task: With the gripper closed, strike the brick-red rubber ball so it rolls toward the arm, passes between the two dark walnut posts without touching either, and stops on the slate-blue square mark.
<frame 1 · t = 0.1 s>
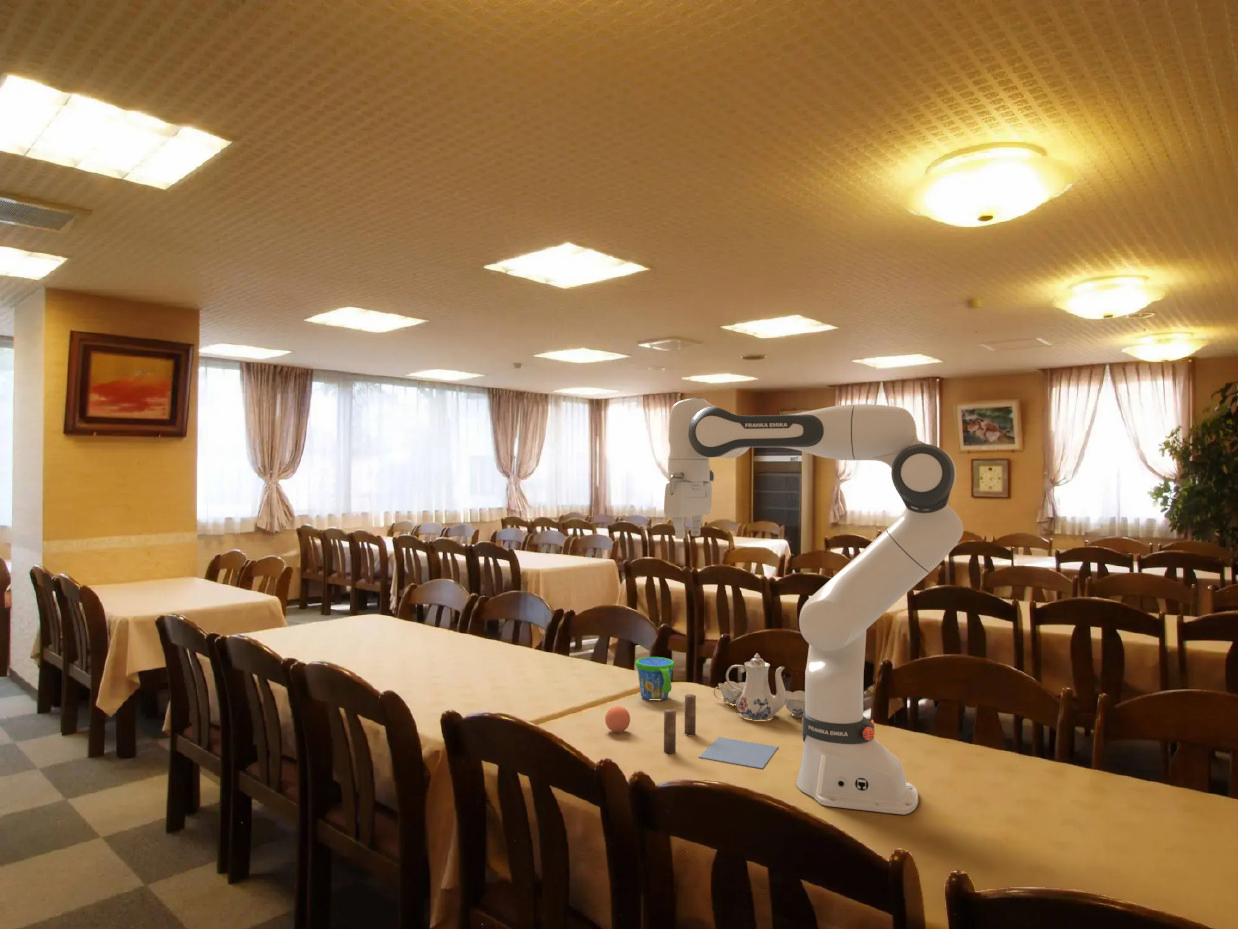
hand: (688, 537, 159), 48 cm above the table, tool pointing down, fingers open, 8 cm apart
ball: (617, 719, 176), on the table
post 2: (690, 734, 175), on the table
chinaware: (760, 714, 191), on the table
snack cup: (654, 698, 204), on the table
post 1: (669, 751, 163), on the table
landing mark: (739, 752, 163), on the table
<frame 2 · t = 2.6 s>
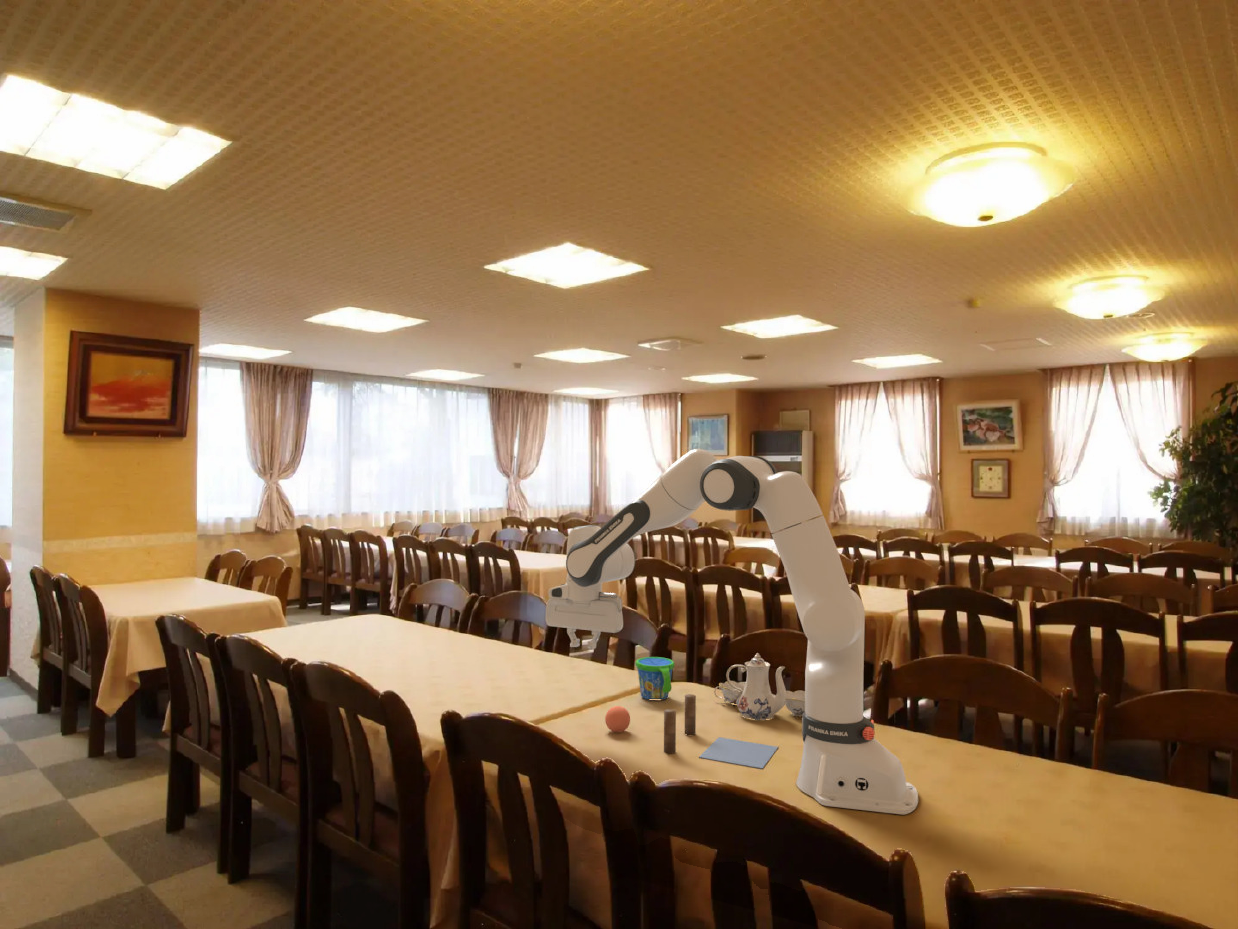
hand: (583, 647, 180), 19 cm above the table, tool pointing down, fingers open, 3 cm apart
nothing on the table moved.
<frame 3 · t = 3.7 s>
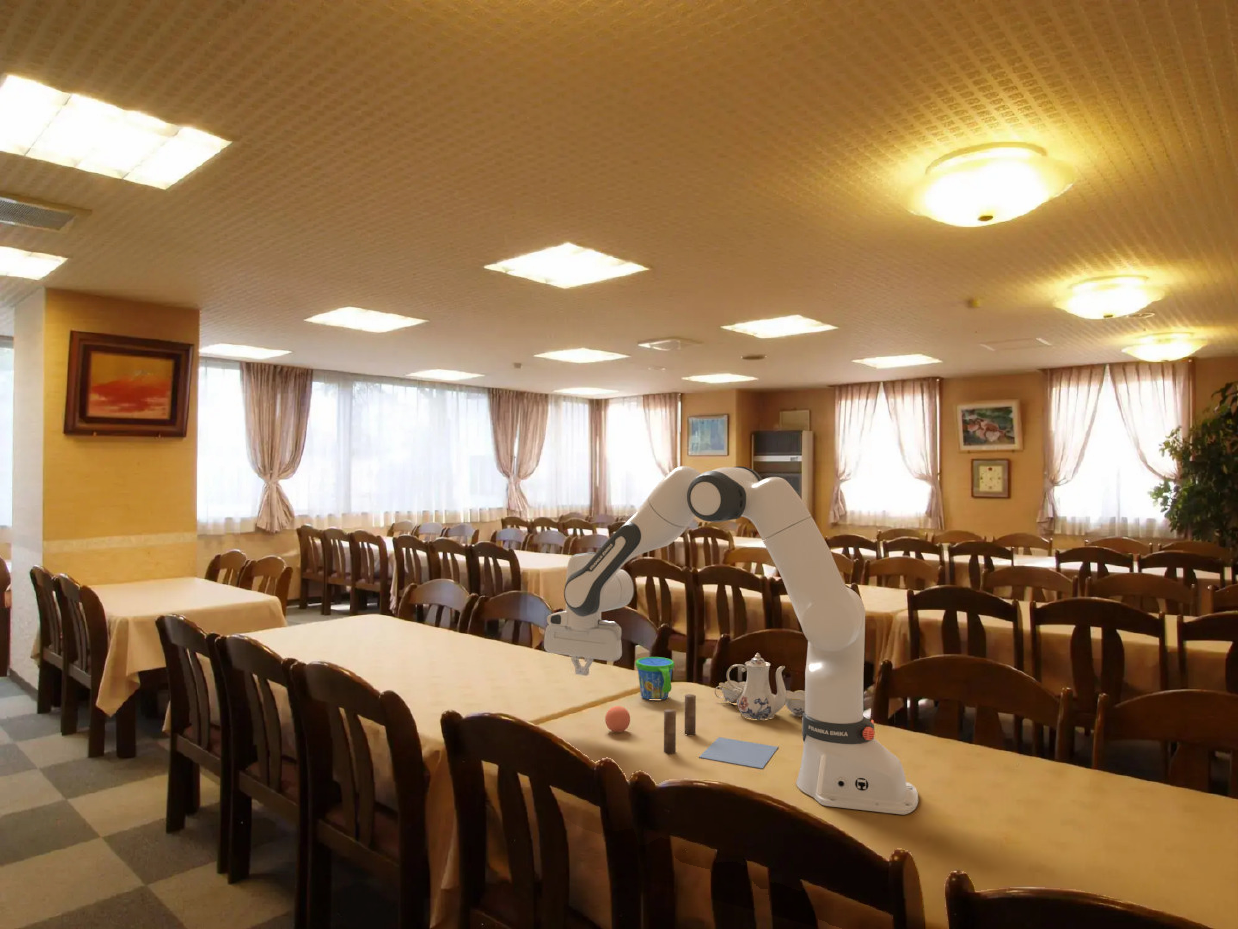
hand: (582, 674, 180), 12 cm above the table, tool pointing down, fingers closed
nothing on the table moved.
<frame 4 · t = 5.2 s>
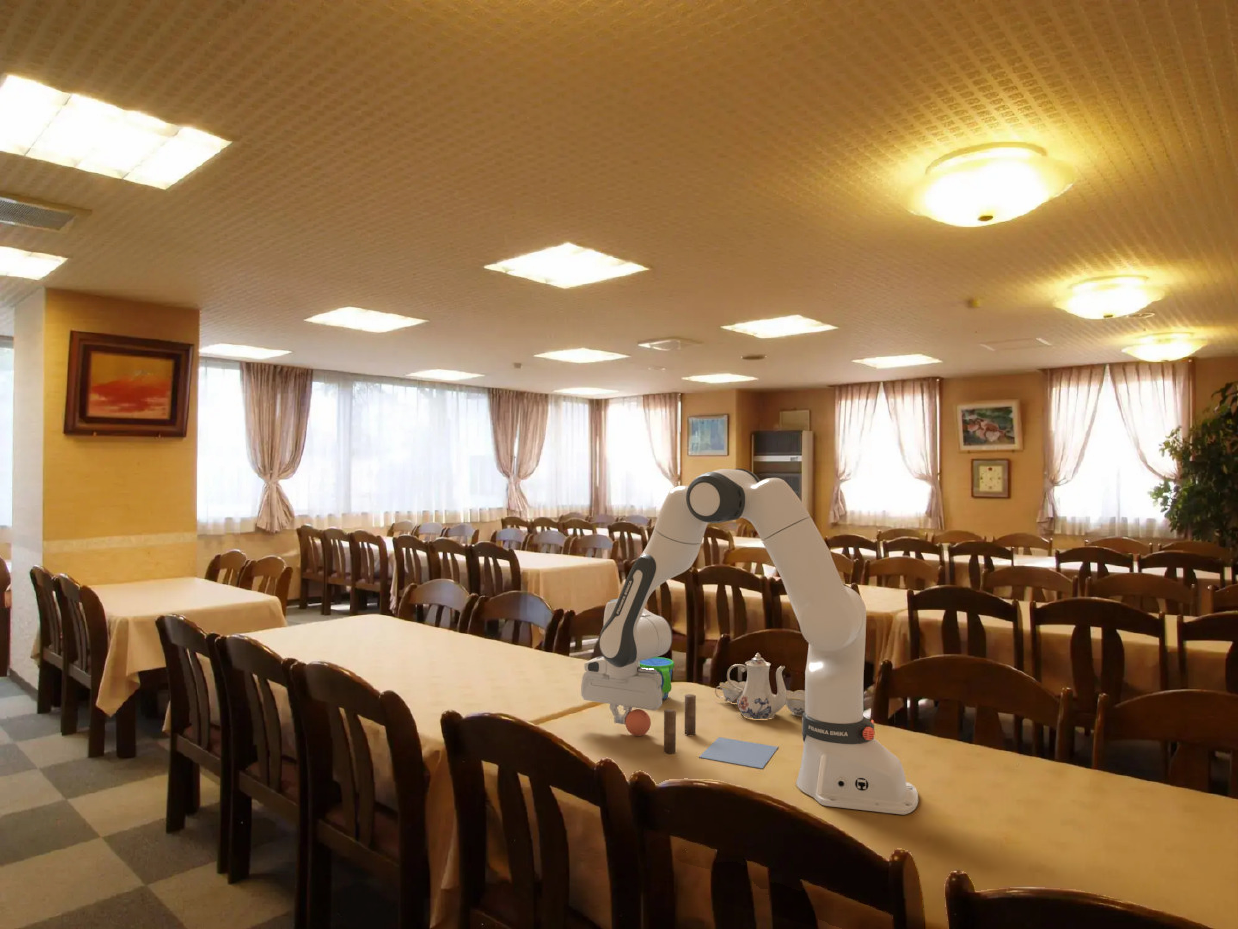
hand: (621, 723, 175), 2 cm above the table, tool pointing down, fingers closed
ball: (638, 722, 173), on the table, touching gripper
everything else where it was.
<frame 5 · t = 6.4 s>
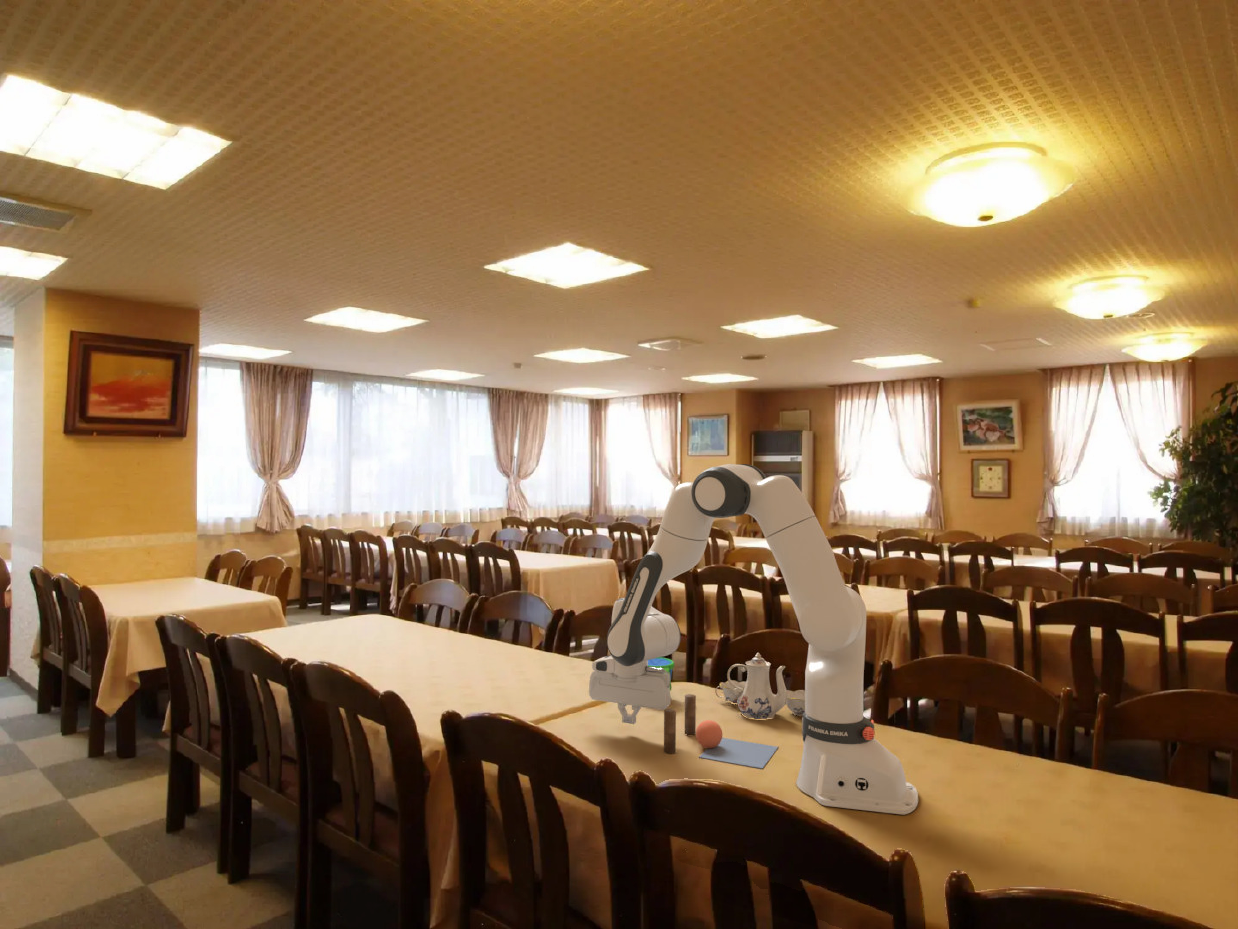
hand: (629, 722, 174), 3 cm above the table, tool pointing down, fingers closed
ball: (709, 734, 166), on the table
everything else where it was.
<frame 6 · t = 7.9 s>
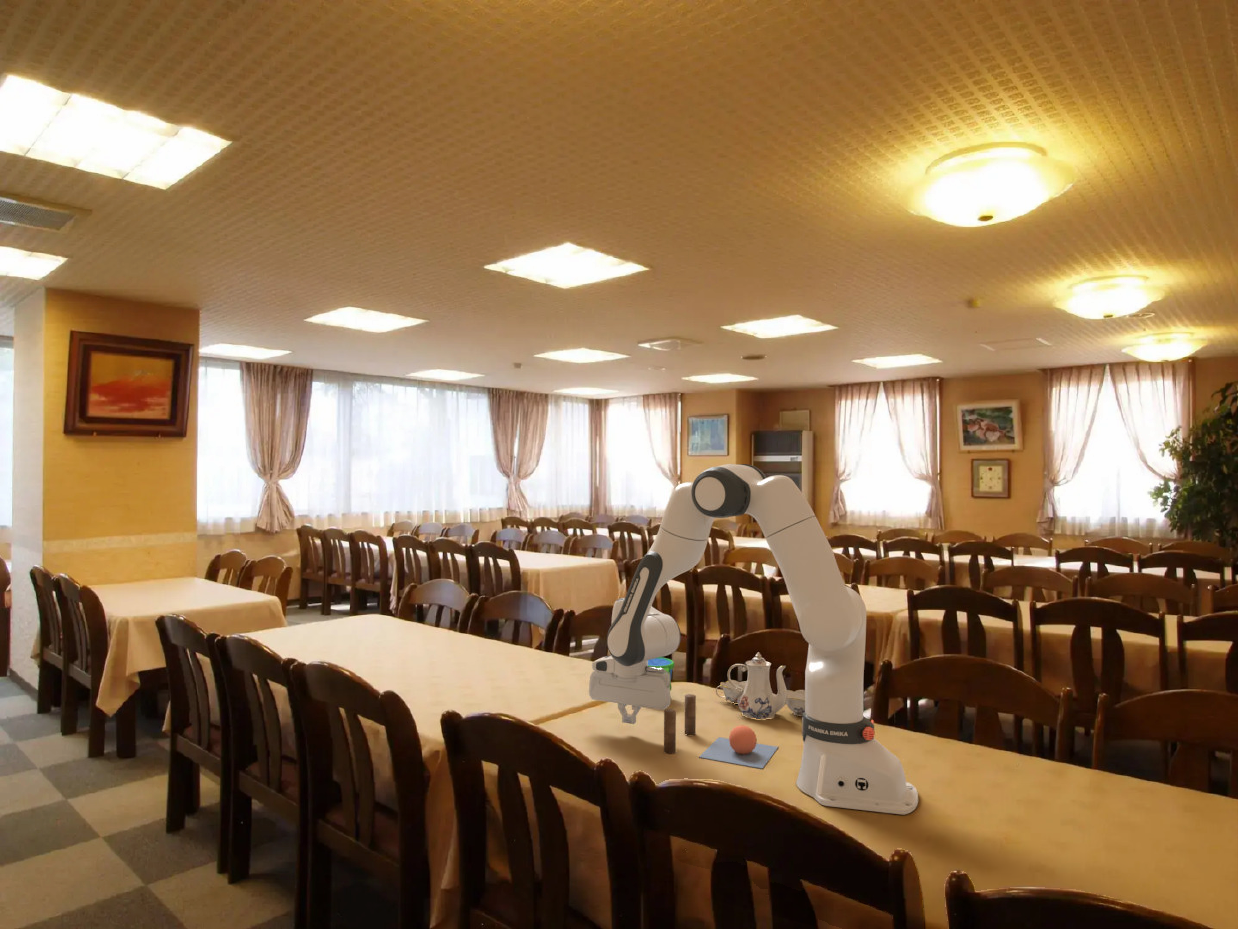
hand: (629, 722, 174), 3 cm above the table, tool pointing down, fingers closed
ball: (742, 739, 162), on the table
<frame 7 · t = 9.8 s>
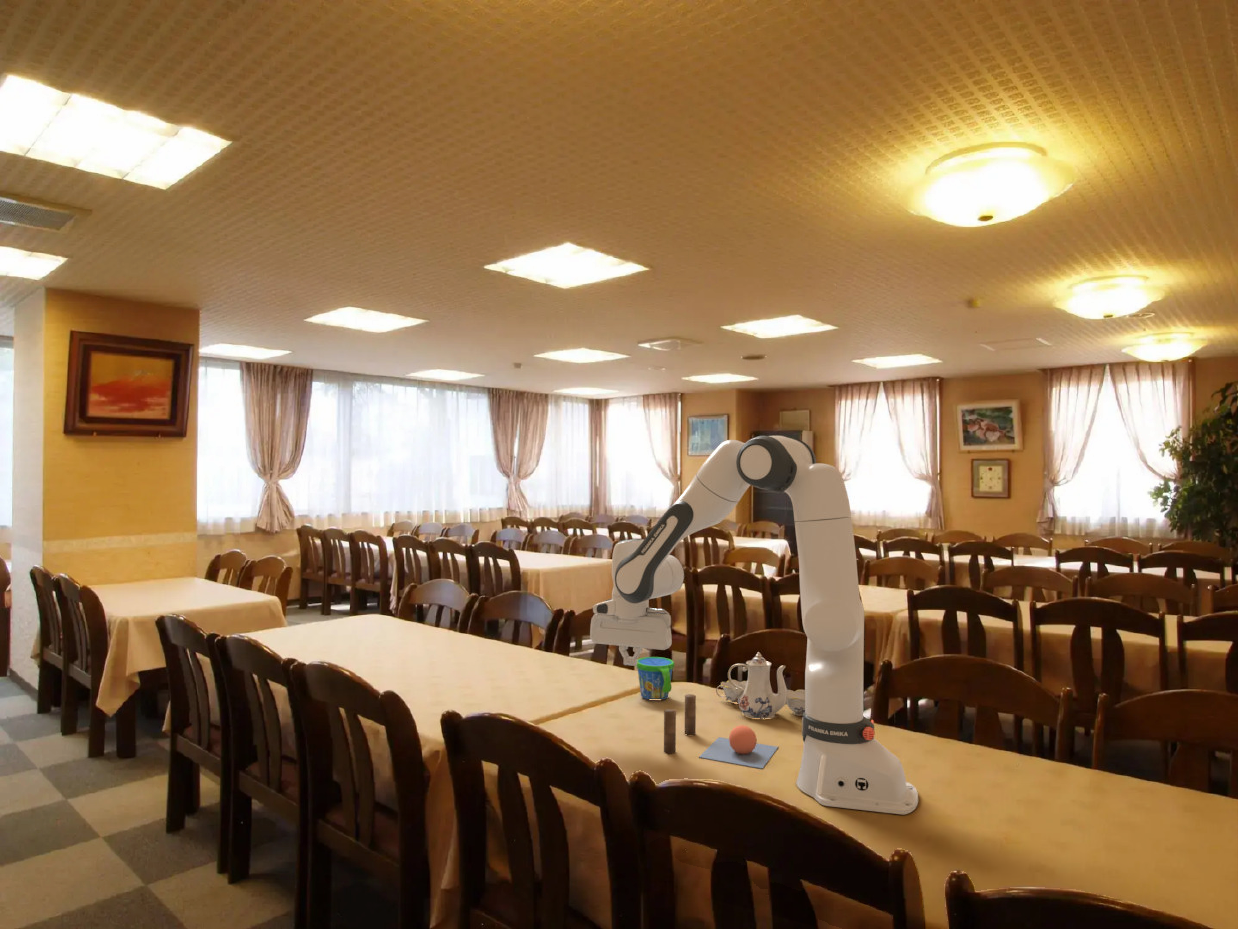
hand: (630, 665, 175), 16 cm above the table, tool pointing down, fingers closed
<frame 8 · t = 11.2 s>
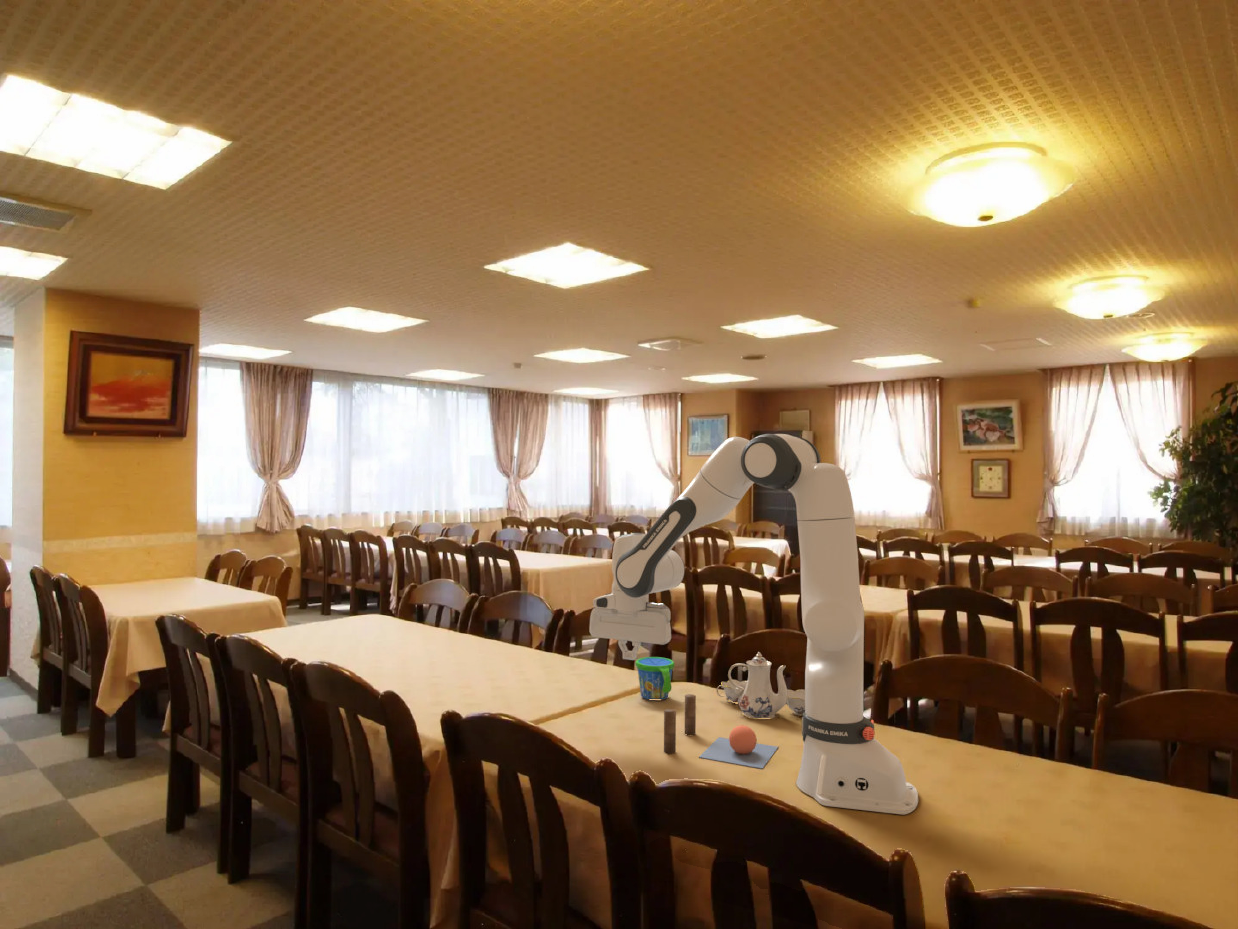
hand: (629, 659, 175), 18 cm above the table, tool pointing down, fingers closed
at the end: ball 0.8 cm from the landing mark (horizontally); ball never touched post 1; ball never touched post 2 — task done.
